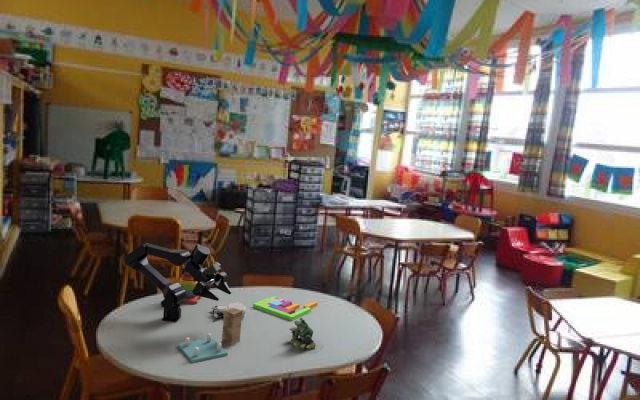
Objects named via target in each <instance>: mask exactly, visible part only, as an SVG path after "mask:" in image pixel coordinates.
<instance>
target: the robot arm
mask: <svg viewBox="0 0 640 400" xmlns="http://www.w3.org/2000/svg"><path fill="white" fill-rule="evenodd" d="M210 255H211V250H210V248H209V247H208V246H204V245H201V244H200V243H197V244H195V246H194V247H193V250H192V251H189V250H187V249H171V248H168V247H163V246H160V245H155V244H152V243H150V242H147V243H143V244H140V245H139V246H138V247H137V248H136V249H134V250H133V251H131V252H128V253H126V254H125V255H124V264H125V266H127V267H128V268H130V269H132V270H135V271H138V272H139V273H141V274H142V275H143V276H144V277H146V278H147V279H148V280H149V281H150V282H151V283H152V284H153V285H154V286H155V287H157V288H158V290H160V291H161V292H162V295H163V298H164V299H163V300H161V301H160V305H161V307H162V308H163V315H162V318H161V321H162V322H163V321H164V322H173V323H177V322H178V321H179V320H180V319H181V318H182V307H181V305H182V304H184V303H183V301H184V300H185V299H186V291H185V290H184V287H182V286H181V285H180V284H179V282H175V283H171V282H170V281H169V280H168V279H166V278H165V276H163V275H162V274H161V273H160V272H159V271H158V270H157V269H155V267H153V266H152V265H151V263H149V261H148V256H153V257H156V258H160V259H164V260H167V261H168V262H169V263H170V264H172V265H174V266H176V267H180V266H182V265H183V266H182V267H181V275H183V274H185V273H188V274H189V275H191V276H192V277H193V278H194V280H193V281H194V282H196V281H197V284H196V285H195V287H194V288H193V290H192V293H193V295H195V296H199V297H201V298H205V299H209V300H212V301H217V302H218V301H219V300H220V298H219V296H217V294H216V293H215V292H214V291H213V290H212V288H211V287H210V286H212V285H213V286H214V287H215V288H216V289H218V290H220V291H221V292H224V293H226V294H227V295H231V294H232V291H231V288H230V287H229V285H228V283H227V278H228V277H227V276H228V274H227V273H226V272H225V271H222V265H221V263H219V262H218V261H215V262H213V263H212V265H210V266H209V267H205V268H204V267H203V266H202V265H204V264H205V262H206V261H207V259H208V257H210ZM184 266H185V267H184ZM219 271H221V272H219ZM217 272H218V273H217Z"/></svg>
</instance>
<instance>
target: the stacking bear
mask: <svg viewBox="0 0 640 400" xmlns="http://www.w3.org/2000/svg"><path fill="white" fill-rule="evenodd" d="M183 267H185V265H183ZM193 280H194V278H193V277H192V276H191V275H189V274H188V273H185V274H182V275H181V276H180V279H179V281H178V283H179V284H180V285H181V286H182V287H184V290H185V291H186V299H185V300H184V301H183V303H182V304H188V305H197V304H198V303H199V302H198V300H200V299H202V297H199V296H195V295H193V293H192V290H193V288H194V287H195V285H196V284H197V281H196V282H194V281H193Z"/></svg>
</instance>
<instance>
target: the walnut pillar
mask: <svg viewBox="0 0 640 400" xmlns="http://www.w3.org/2000/svg"><path fill="white" fill-rule="evenodd" d="M242 318H243V316H242V310H239V309H236V308H233V307H232V308H230V309H227V310H225V311H224V316H223V321H222V323H223V324H222V335H221V343H224V344H226V345H229V346H234V345H235V344H238V343H240V341H241V329H242Z"/></svg>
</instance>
